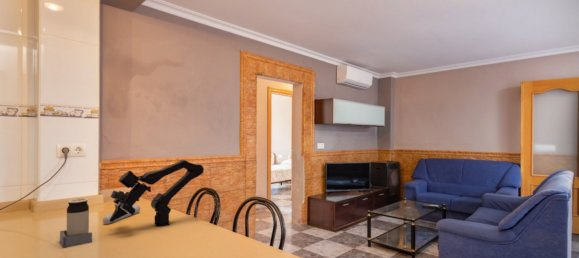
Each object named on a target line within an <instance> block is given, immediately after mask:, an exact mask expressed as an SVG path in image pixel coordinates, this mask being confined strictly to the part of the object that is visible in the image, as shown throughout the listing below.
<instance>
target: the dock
mask: <svg viewBox="0 0 579 258" xmlns="http://www.w3.org/2000/svg"><path fill="white" fill-rule="evenodd" d="M59 242H60V244H61V247H62V249H65V248H68V247H75V246H79V245H84V244H90V243H93V232H92V231H89V233H84V234H79V235H74V236H68V237H67V229H66V230H65V229H64V230H60V231H59Z"/></svg>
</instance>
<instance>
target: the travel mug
mask: <svg viewBox="0 0 579 258" xmlns="http://www.w3.org/2000/svg"><path fill="white" fill-rule="evenodd" d="M88 201H89V199H88V198H87V197H85V198H84V197H81V198H73V199H69V200H67V204H68V206H67V208H66V230H67V237H68V236H74V235H79V234H84V233H90V229H89V228H90V223H89V222H90V219H89V218H90V214H89V213H90V206H89V204H88Z"/></svg>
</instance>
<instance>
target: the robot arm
mask: <svg viewBox="0 0 579 258" xmlns="http://www.w3.org/2000/svg"><path fill="white" fill-rule="evenodd" d="M182 169H184V170H186V172H185V174H184V175H183V176H181V177H180V178H179V180H177V181H176V182H174V184H173V185H172V186H171V187H170V188H168V189H167V190H166V191H165V192H164V193H160V192H159V193H157V194H156V195H155V196H154V197H152V200H151V201H150V206H151V208H152V209H153V210H154V212H155V215H154V225H155V227H162V226H169V225H170V213H171V210H172V208H171V207H170V206H168V205H169V204H170V202H171V200H172V198H174V197H175V196H176V195H177V194H178V193H179V192H180V191H181V190H183V189H184V187H185V186H186V185H188V184H189V183H190V181H192V180H194V179H196V178H198V177H199V176H201V175H202V174H203V173H204V171H205V169H204V165H202V164H198V163H197V164H196V163H192V162H190V161H187V160H185V159H181V160H179V161H177V162H175V163H172V164H169V165H168V166H165V167H162V168H160V169H157V170H151V171H148V172H145V173H143V175H139V176H137V175H136V174H135V173H133V171H132V170H128V171H127V172H125V173H124V174H122V175H121V176H120V177H119V179H118V182H119V183H121V184H122V185H123V186H124V187H125V188H127V189H130V188H131V189H130V190H128V191H126V192H125V191H122V190H119V191H118V190H117V191H116V190H113V191H112V192H111V195H110V198H111V199H114V200H113V201H112V202H113V203H114V211H113V212H112V213H113V214H112V216H111V218H110V220H109V221H110V222H112V221H114V220H116V219H118V218H120V217H122V216H124V215H126V214H128V213H127V212H129V213H130V214H131V216H134V215H135V214H134V213H135V209H134V208H133V205H136V203H137V202H139V201H140V198H141V197H142V196H143V195H144V194H145V193H146V192H148V193H151V192H152V186H151V185H155V184H156V183H158V182H159V181H160V180H161V179H162V178H164V177H167V176H168V175H169V176H170V174H171V175H172V173H173V174H174V173H175V172H178V171H180V170H182ZM140 182H141V183H140ZM146 184H147V185H146ZM133 214H134V215H133Z"/></svg>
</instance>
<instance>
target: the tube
mask: <svg viewBox="0 0 579 258" xmlns="http://www.w3.org/2000/svg"><path fill="white" fill-rule="evenodd" d="M133 208H134V209H135V213H134V214H133V215H131V214H130V213H129V212H127V213H128V214H126V215H124V216H122V217H120V218H118V219H116V220H114V221H112V222H110V221H109V220H110V218H111V216H112V214H113V213H114V212H111V213H109V214H108V213H107V214H105V215H104V217H103V218H102V223H103V224H104V225H110V224H113V223H116V222H118V221H121V220H123V219H126V218H128V217H131V216H134V215H137V214H139V213H140V211H141V206H140V205H139V204H134V205H133Z"/></svg>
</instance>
